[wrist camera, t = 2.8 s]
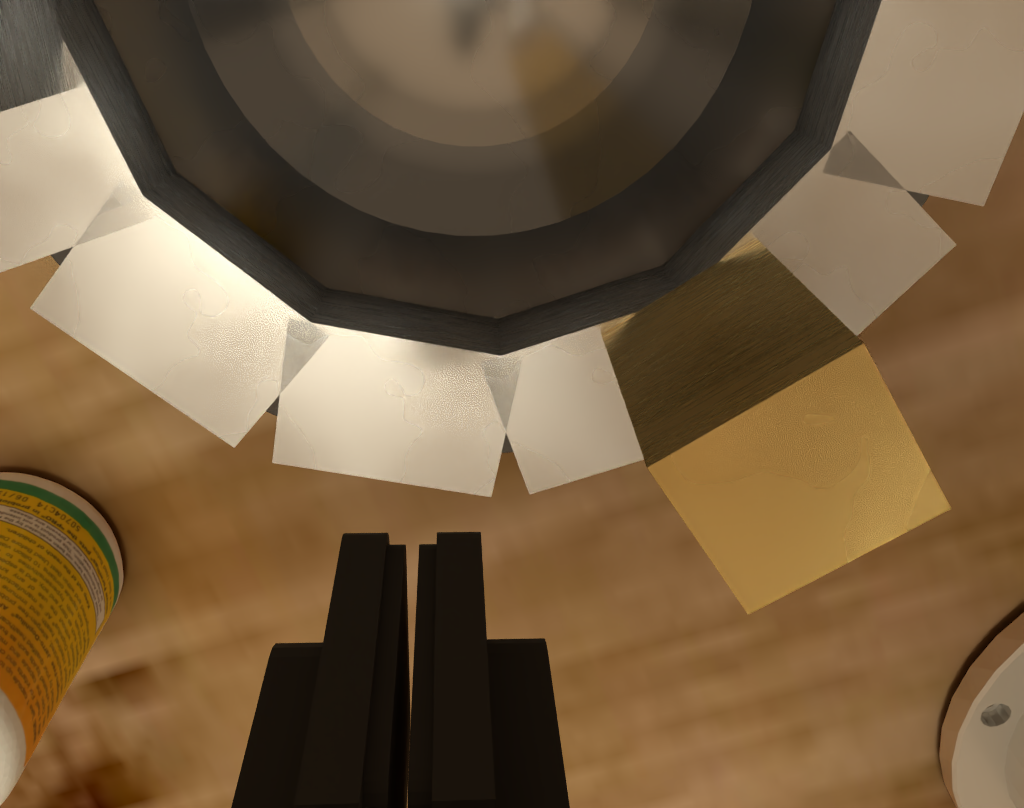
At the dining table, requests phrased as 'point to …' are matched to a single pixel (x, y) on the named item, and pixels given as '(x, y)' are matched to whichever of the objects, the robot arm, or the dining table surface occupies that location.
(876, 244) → the crenellated round base
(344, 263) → the grey round platform
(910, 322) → the dining table surface
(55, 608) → the supplement bottle
